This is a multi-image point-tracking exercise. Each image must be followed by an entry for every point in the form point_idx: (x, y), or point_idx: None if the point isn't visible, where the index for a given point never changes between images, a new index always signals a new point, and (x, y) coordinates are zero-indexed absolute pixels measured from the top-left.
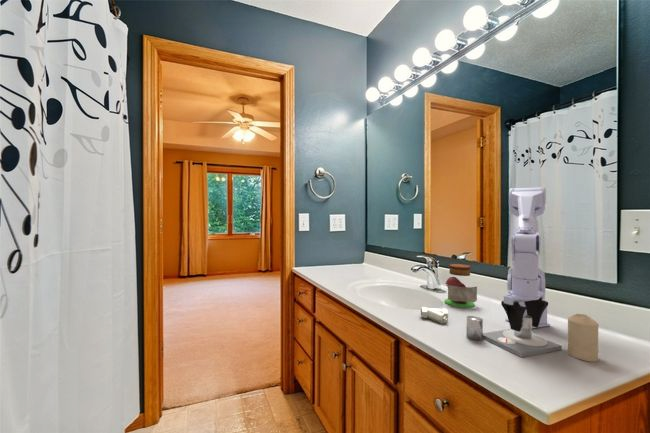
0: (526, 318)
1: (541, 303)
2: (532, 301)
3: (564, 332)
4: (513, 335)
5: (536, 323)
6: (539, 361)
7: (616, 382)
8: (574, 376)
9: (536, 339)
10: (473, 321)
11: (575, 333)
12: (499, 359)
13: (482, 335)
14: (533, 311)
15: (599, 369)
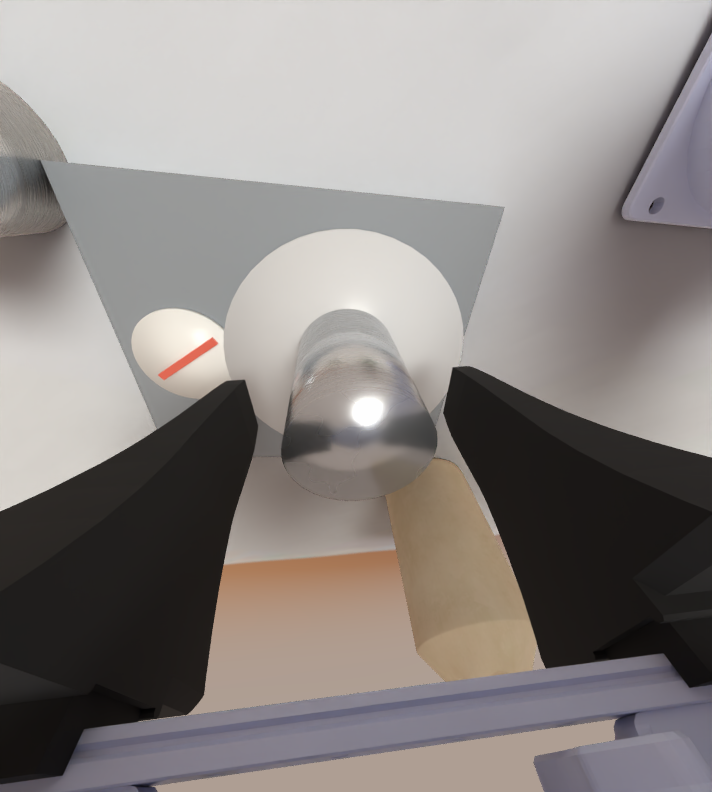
0: (324, 493)
1: (559, 655)
2: (607, 611)
3: (698, 336)
4: (299, 327)
5: (452, 432)
6: None
7: (329, 555)
8: (253, 533)
9: None
10: None
11: (403, 582)
12: (47, 432)
13: (25, 230)
14: (515, 483)
15: (367, 526)
